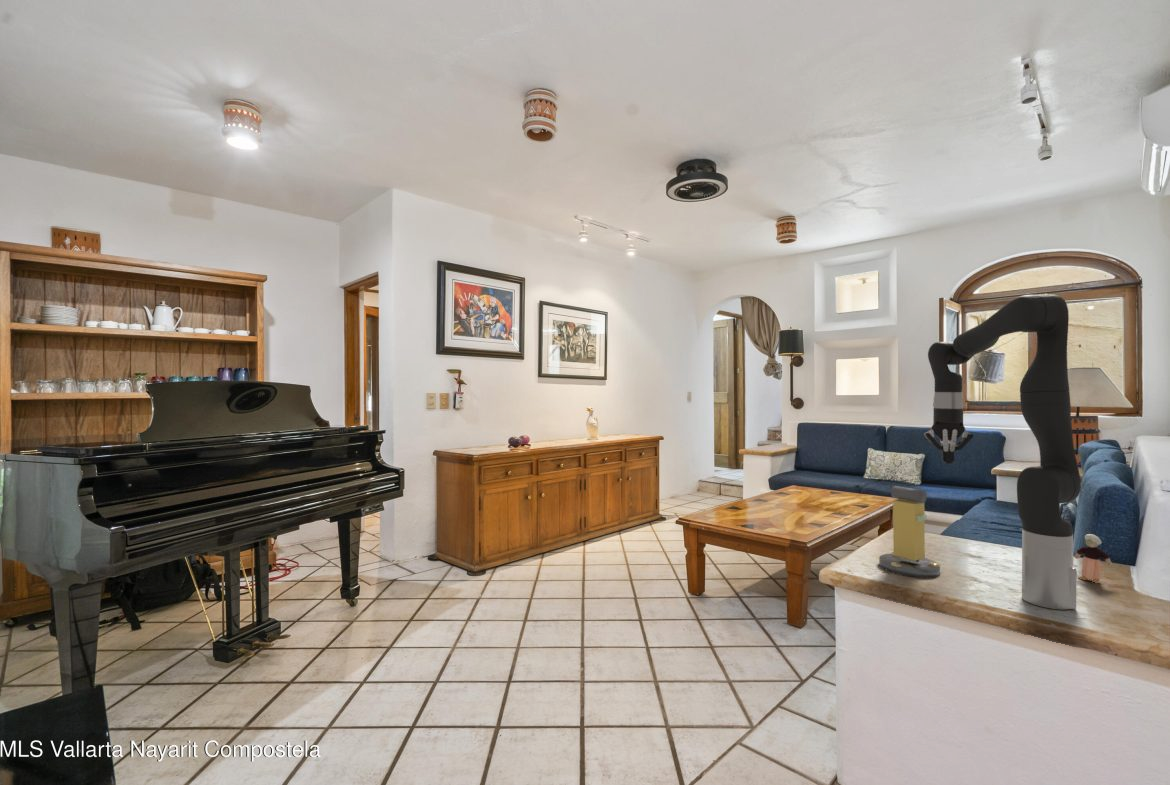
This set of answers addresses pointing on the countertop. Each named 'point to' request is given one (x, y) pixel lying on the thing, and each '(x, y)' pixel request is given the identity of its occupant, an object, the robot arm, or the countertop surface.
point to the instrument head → (909, 523)
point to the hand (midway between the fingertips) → (947, 463)
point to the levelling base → (910, 566)
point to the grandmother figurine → (1092, 559)
